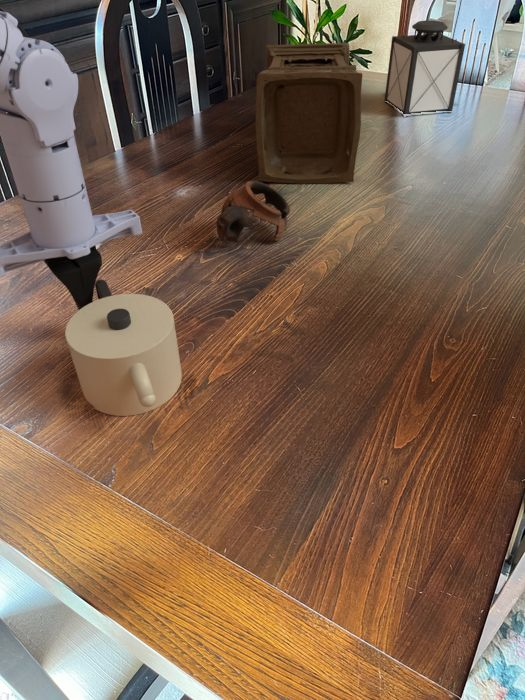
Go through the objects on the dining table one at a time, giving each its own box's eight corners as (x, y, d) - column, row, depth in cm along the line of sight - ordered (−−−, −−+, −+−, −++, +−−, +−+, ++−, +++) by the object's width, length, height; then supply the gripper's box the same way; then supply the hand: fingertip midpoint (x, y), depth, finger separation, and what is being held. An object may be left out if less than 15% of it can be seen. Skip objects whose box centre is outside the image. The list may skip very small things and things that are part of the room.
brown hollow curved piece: (231, 216, 85) (258, 171, 80) (277, 256, 84) (307, 212, 79) (187, 231, 75) (214, 180, 70) (238, 276, 74) (269, 227, 69)
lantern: (452, 113, 119) (484, -47, 101) (404, 117, 118) (428, -44, 99) (428, 98, 128) (454, -52, 110) (383, 102, 126) (402, -50, 108)
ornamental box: (269, 129, 121) (256, 34, 110) (351, 118, 118) (346, 19, 107) (260, 193, 94) (241, 75, 82) (366, 181, 91) (362, 58, 80)
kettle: (206, 417, 50) (199, 350, 45) (101, 453, 47) (80, 385, 42) (153, 318, 62) (142, 256, 57) (67, 342, 59) (47, 278, 54)
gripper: (-22, 228, 43) (27, 359, 52) (146, 183, 50) (165, 306, 58) (-42, 197, 48) (7, 322, 57) (115, 159, 54) (137, 277, 63)
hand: (85, 312), depth 58 cm, fingers closed
